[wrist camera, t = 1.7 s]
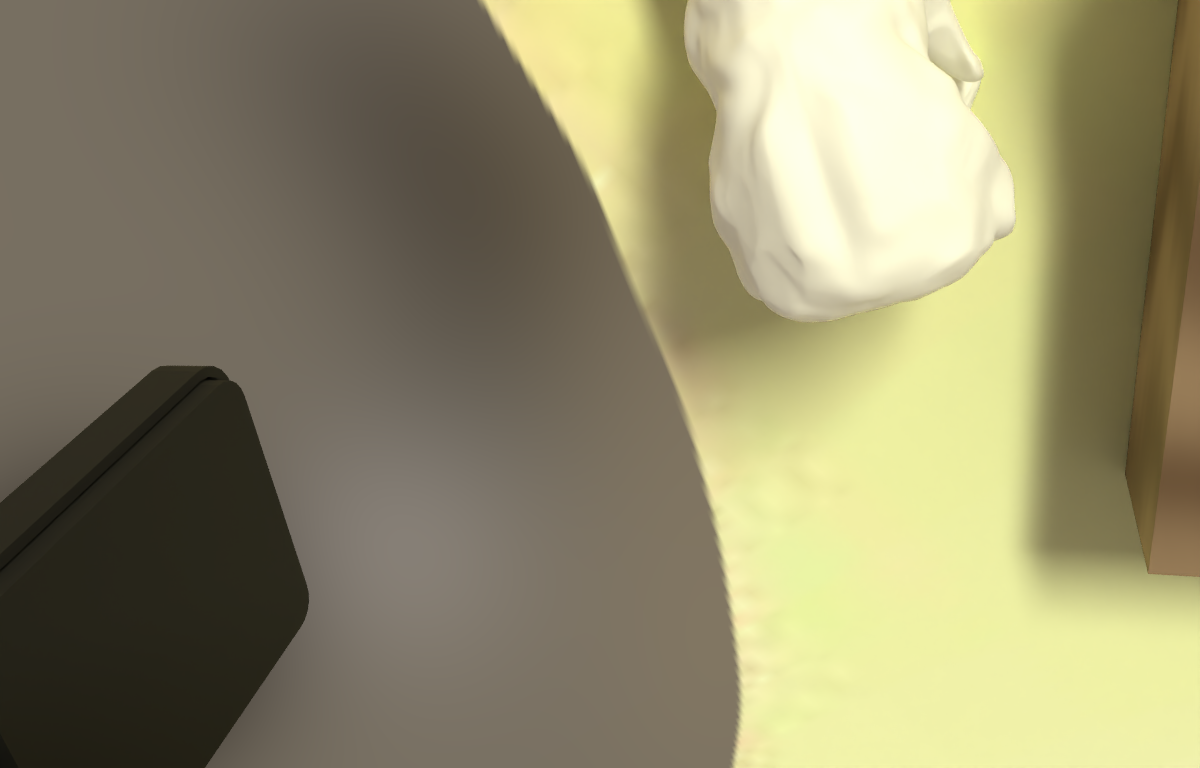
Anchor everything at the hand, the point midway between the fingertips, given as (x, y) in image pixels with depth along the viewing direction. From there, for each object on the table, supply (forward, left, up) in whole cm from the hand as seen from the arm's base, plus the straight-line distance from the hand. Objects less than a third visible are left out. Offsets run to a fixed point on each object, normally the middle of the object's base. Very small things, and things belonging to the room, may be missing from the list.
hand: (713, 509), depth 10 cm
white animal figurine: (0, +1, -22) cm, 22 cm away
